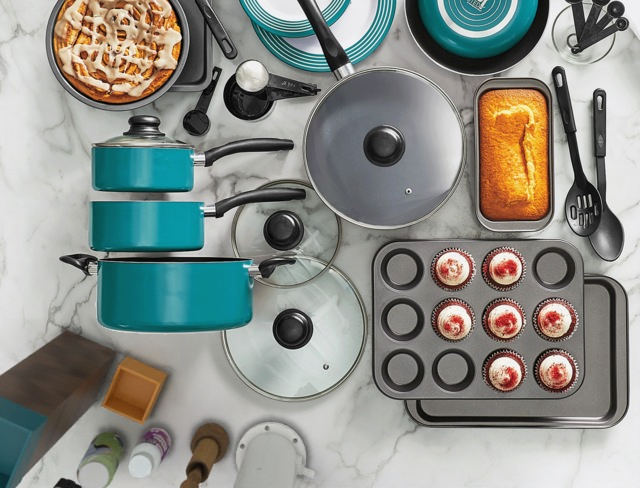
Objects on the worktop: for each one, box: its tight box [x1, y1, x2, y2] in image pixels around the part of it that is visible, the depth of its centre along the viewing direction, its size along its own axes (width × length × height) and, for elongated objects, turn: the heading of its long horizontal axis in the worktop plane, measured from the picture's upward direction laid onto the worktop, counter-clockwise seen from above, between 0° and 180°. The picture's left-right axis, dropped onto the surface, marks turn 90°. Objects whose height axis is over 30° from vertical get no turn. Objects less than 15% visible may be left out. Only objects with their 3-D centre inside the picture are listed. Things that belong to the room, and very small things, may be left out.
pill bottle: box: [127, 427, 172, 480], centre depth 118 cm, size 5×5×10 cm
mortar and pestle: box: [179, 422, 230, 488], centre depth 113 cm, size 7×6×18 cm
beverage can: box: [76, 431, 125, 488], centre depth 117 cm, size 6×7×12 cm
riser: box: [0, 329, 118, 478], centre depth 108 cm, size 10×10×28 cm
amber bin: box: [100, 356, 169, 425], centre depth 120 cm, size 8×8×4 cm
